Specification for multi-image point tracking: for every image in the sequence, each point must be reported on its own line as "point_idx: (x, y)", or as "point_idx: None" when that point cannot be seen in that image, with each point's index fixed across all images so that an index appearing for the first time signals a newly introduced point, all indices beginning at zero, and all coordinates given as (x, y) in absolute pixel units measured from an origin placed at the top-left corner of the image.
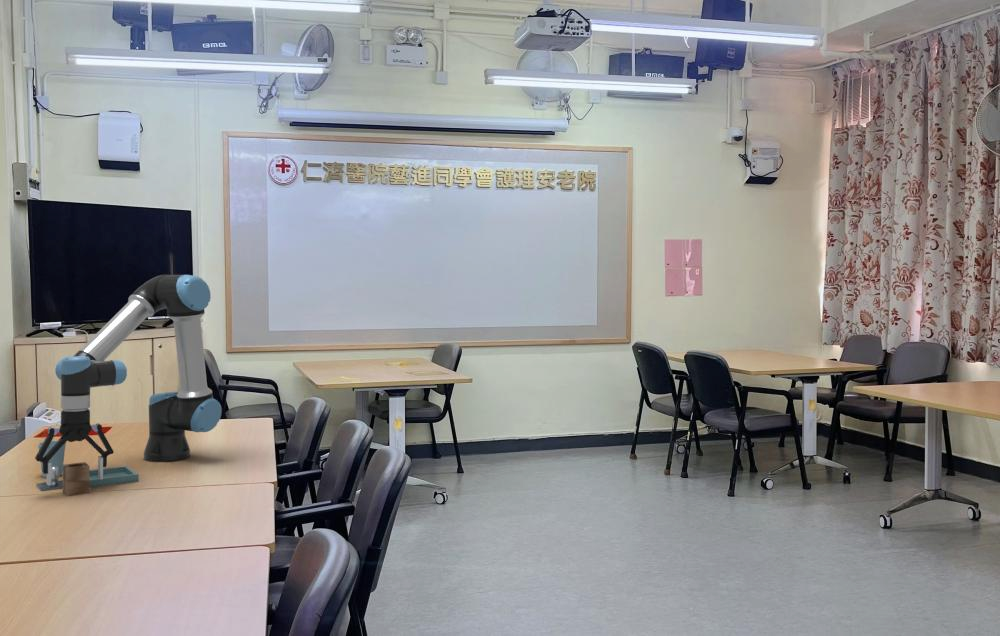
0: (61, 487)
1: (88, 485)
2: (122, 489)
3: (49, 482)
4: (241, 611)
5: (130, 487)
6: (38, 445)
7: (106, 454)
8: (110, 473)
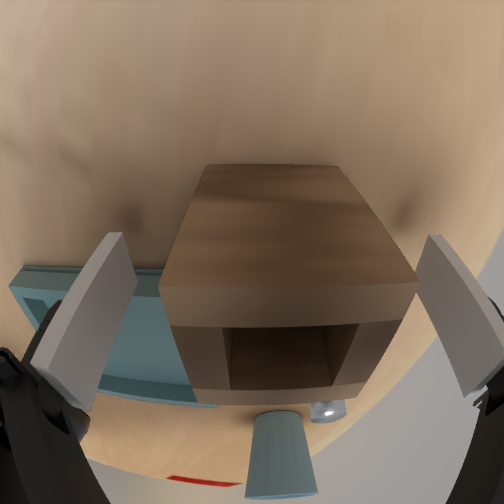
0: None
1: (205, 182)
2: (51, 163)
3: (444, 246)
4: None
5: (28, 187)
6: (317, 491)
7: (4, 379)
8: (126, 378)
